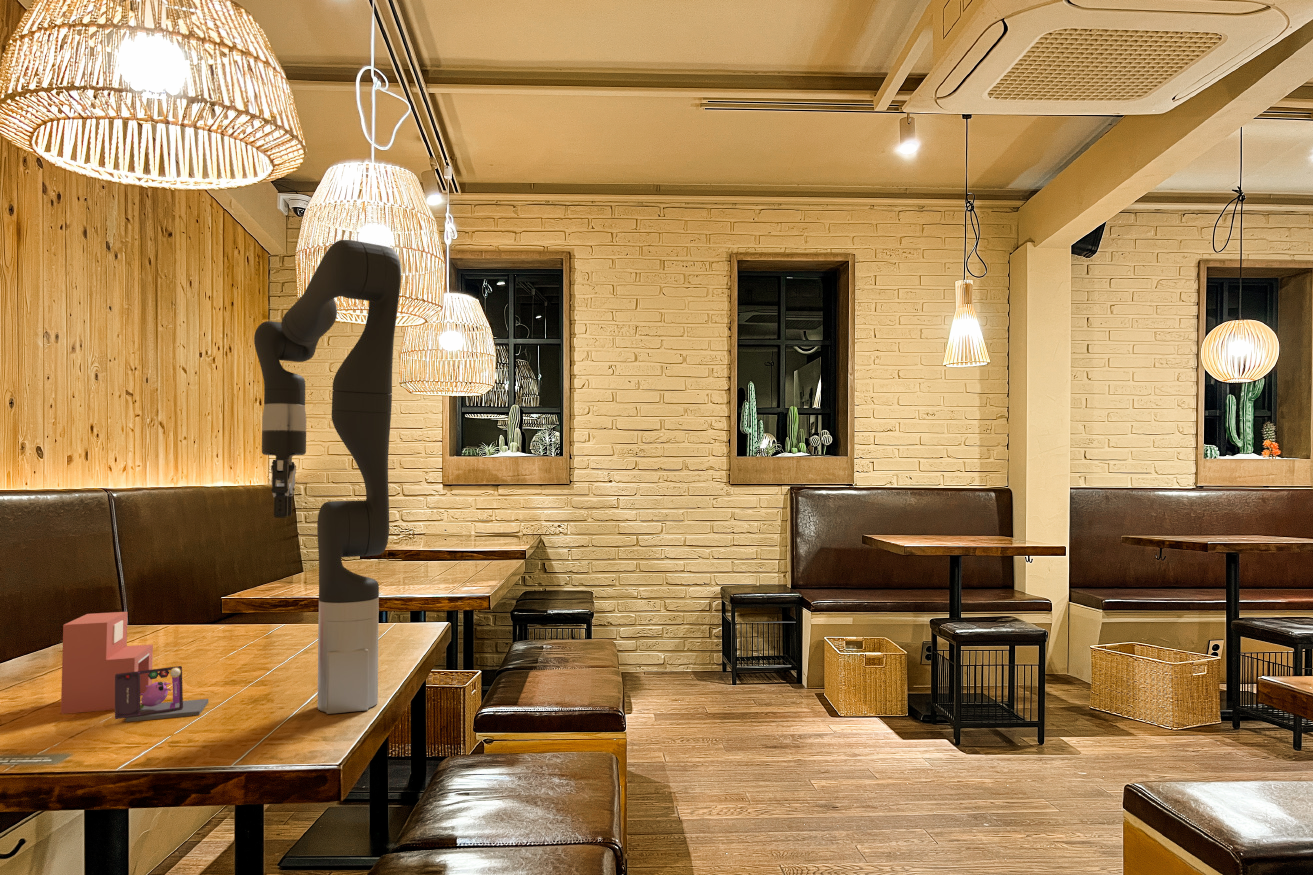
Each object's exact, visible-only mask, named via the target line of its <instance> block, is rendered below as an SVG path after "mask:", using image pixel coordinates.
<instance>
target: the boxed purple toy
mask: <svg viewBox="0 0 1313 875" xmlns="http://www.w3.org/2000/svg"><path fill="white" fill-rule="evenodd" d="M144 673H149V674H148V677H149V678H150V679H152V680H157V679H158V677H160V679H164V678H165V679H166V678H168V676H170V677H171V682H172V689H170V688H168V687H167V686H168V685H171V682H166V681H156V682H152V684H151V685H150V686H146V687H147V688H148V689H147V690H146V692H145V693H141V694H140V674H144ZM183 689H184V688H183V667H182V666H181V665H179V666H178V665H177V666H170V667H169V666H168V667H161V668H152V670H144V671H136V672H128V673H120V674H116V675H115V709H114V719H115V720H119V719H125V718H128V717H134V716H141V715H147V714H154V713H161V712H167V711H174V710H180V709H182V708H183V701H184V698H183V697H184V696H183V695H184V692H183V691H184V690H183ZM168 692H172V702H173V703H171V704H170V708H169V709H164V710H157V711H150V712H144V713H141V712H140V709H143V708H144V706H147V707H152V706H156V705H158V704H160V703H164V701H165V700H166V698H167V697H168V694H169V693H168ZM141 696H142V697H141ZM176 703H179V705H180V706H179V707H177V708H175V704H176ZM140 705H141V706H140ZM172 707H173V708H172Z"/></svg>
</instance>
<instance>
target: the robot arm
mask: <svg viewBox="0 0 1313 875" xmlns="http://www.w3.org/2000/svg"><path fill="white" fill-rule="evenodd" d="M313 273H314V274H313V275H312V277H311V278H310V281H309V282H308V285H307V287H306V289H305V290H304V292H303V294H302V296H300V298H299V299H298V300H297V301H296V302H295V303H294V304H293V305H292V306H291V307H290V308H289V309H287V311H286V313H285V314H284V315H283V316H282V319H281V321H280V322H279V321H272V320H269V321H263V322H262V323H259V325H258V326H257V327H256V329H255V332H254V336H253V343H254V349H255V353H256V355H257V358H258V362H259V365H260V369H261V373H262V378H263V388H264V389H263V392H264V394H263V397H264V399H263V410H262V417H261V418H262V419H261V453H262V454H263V455H264V456H275V459H272V461H271V466H270V472H271V481H270V482H271V492H272V496H273V498H274V499H273V517H274V518H275V519H279V518H281V519H282V518H283V519H285V518H287V517H290V516H292V514H293V496H294V493H295V486H296V474H297V465H296V463H295V461H293V459H292V458H293V457H294V456H304V455H306V452H307V412H306V411H307V410H306V380H305V378H304V377H303V376H302V375H300V374H298V373H294V372H291V371H288V370H286V369H285V368H284V367H283V365H282V364H281V361H283V362H285V361H286V362H293V363H294V362H295V363H303V362H304V363H305V362H307V361H309V360H311V359H312V358H313V357H314V356H315V352H316V350H317V345H318V343H319V340H320V339H321V337H323V336H325V334H326V333H327V332H328V331H329V330H330V329H331V328H332V327H333V325H334V324H335V322H336V320H337V316H338V309H337V304H336V301H335V299H336V298H338V297H343V298H346V299H351V300H359V301H367V302H368V312H367V316H366V322H365V325H364V328H363V332H362V334H360V337H359V339H358V340H357V342H356V343H355V345H354V347H352V349H351V351H350V352H349V353H348V355H346V357H345V358H344V360H343V362H342V363H341V364H340V366H339V367H338V369H337V371H336V373H335V375H334V378H333V381H332V391H331V392H332V393H331V394H332V395H331V396H332V397H331V421H332V424H333V427H334V429H335V431H336V433H337V435H338V436H339V438H340V440H341V441H342V443H343V445H344V446H345V447H346V449H347V450H348V452H349V454H351V456H352V458H353V460H354V461H355V463H356V466H357V467H358V469H359V471H360V474H361V477H362V479H363V483H364V487H365V497H366V498H365V500H335V501H334V500H330V501H327V502H324V503H323V504H322V505H321V507H320V508H319V511H318V514H317V523H316V524H317V525H316V526H317V528H316V530H317V531H316V532H317V534H316V535H317V548H318V549H317V553H318V621H317V622H318V623H317V624H318V631H317V634H318V636H317V710H319V711H321V712H324V713H326V714H327V715H328V714H329V715H331V714H332V715H333V714H340V713H342V714H343V713H349V712H350V713H351V712H361V711H368V710H369V709H370V708H372V707H374V706H376V705H378V703H379V702H378V700H379V613H380V612H379V611H380V610H379V609H380V607H379V606H380V605H379V604H380V602H379V600H380V598H379V597H380V586H379V582H378V581H377V579H375V578H372V577H369V576H365V575H364V576H363V575H360V574H358V573H355V572H354V571H353V572H352V571H350V570H349V569H347V568H346V567H344V564H343V562H342V560H343V558H351V557H353V558H354V557H370V556H371V557H372V556H373V557H374V556H379V555H381V554H383V553H384V552H385V551H386V549H387V546H388V542H389V538H390V537H389V535H390V498H389V493H390V492H389V490H390V489H389V452H390V451H389V450H390V449H389V448H390V435H391V434H390V433H391V432H390V431H391V420H392V406H393V405H392V404H393V403H392V402H393V361H394V355H393V354H394V344H395V343H394V342H395V331H396V324H397V316H398V308H399V307H398V306H399V301H400V293H401V292H400V291H401V285H402V283H401V280H402V267H401V261H400V258H399V254H398V253H397V251H396V250H395V249H394V248H392V247H390V246H386V245H385V246H384V245H381V244H376V243H370V242H363V241H359V240H352V239H340V240H337V241H335V242H334V243H332V244H331V245H330V247H329V248H328V249H327V250H326V252H325V253H324V255H323V257H322V259H321V261H320V262H319V264H318V266H317V268H316V269H315V272H313Z"/></svg>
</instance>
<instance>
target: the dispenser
mask: <svg viewBox="0 0 1313 875" xmlns="http://www.w3.org/2000/svg"><path fill="white" fill-rule="evenodd" d="M128 613H129V612H128V611H119V612H118V611H114V612H99V613H97V612H96V613H86V614H84V615H82V616H79V617H78V618H75V619H73V620H71V621H69V622H66V623H64V624H63V625H62V626H63V630H62V657H61V658H62V659H61V660H62V661H61V694H60V696H61V697H60V699H61V700H60V715H64V714H66V715H67V714H75V713H87V712H98V711H108V710H109V711H111V710H115V675H116V674H120V673H128V672H136V671H144V670H152V669H153V656H154V655H153V652H154V648H153V647H154V644H141V645H140V644H139V645H128V644H127V642H128ZM148 674H149V673H144V674H140V694H141V693H145V692H146V690H147V689H148V688H147V687H146V686H150V685H151V684H153V679H150V678H149V677H148Z"/></svg>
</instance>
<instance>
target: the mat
mask: <svg viewBox="0 0 1313 875" xmlns="http://www.w3.org/2000/svg"><path fill="white" fill-rule="evenodd" d="M171 703H173V701H167V702H166V701H165V702H161V703H160V704H158V705H156V706H152V707H147V706H144V708H143V709H140V712H141V713H144V712H150V711H157V710H164V709H169V708H170V704H171ZM208 703H209V698H203V699H191V700H183V708H182V709H180V710H174V711H167V712H161V713H154V714H147V715H141V716H134V717H128V718H124V720H125V722H124V723H127V722H129V723H130V722H139V721H148V720H160V719H161V720H162V719H170V718H171V719H173V718H182V717H193V716H194V715H195V716H200V714H201V713H202V712H203V710H204V709H205V708H206V706H207V705H208ZM141 705H142V704H140V706H141ZM179 706H180V705H179V703H176V704H175V708H177V707H179ZM172 708H173V707H172ZM192 715H193V716H192Z"/></svg>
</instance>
